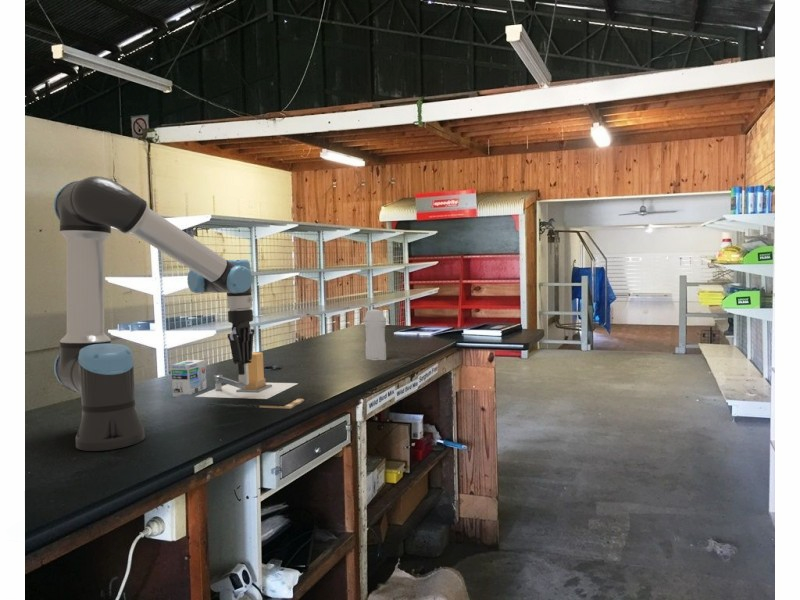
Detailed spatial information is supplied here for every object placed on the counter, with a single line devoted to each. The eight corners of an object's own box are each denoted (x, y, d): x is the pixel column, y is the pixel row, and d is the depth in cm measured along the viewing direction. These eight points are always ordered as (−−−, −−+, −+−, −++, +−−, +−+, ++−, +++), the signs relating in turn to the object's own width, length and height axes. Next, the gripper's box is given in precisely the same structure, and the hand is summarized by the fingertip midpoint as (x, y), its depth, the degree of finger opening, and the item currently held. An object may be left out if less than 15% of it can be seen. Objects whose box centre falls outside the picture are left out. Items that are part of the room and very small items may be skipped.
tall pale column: (389, 359, 262) (387, 309, 260) (385, 360, 258) (383, 309, 256) (367, 358, 266) (365, 308, 264) (363, 360, 262) (361, 309, 261)
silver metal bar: (239, 390, 183) (239, 384, 183) (212, 380, 200) (211, 375, 200) (249, 388, 185) (248, 383, 185) (220, 379, 202) (220, 374, 202)
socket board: (267, 402, 185) (266, 388, 185) (195, 399, 191) (194, 387, 191) (298, 386, 208) (298, 374, 208) (233, 384, 214) (233, 373, 214)
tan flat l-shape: (290, 408, 175) (290, 406, 175) (259, 407, 178) (259, 405, 178) (304, 400, 185) (304, 398, 185) (274, 399, 188) (274, 397, 188)
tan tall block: (256, 391, 196) (254, 355, 195) (242, 391, 197) (241, 354, 197) (265, 387, 203) (264, 351, 202) (253, 386, 204) (251, 351, 203)
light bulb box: (190, 397, 195) (189, 364, 194) (171, 397, 196) (170, 364, 195) (207, 390, 205) (206, 359, 204) (189, 390, 206) (188, 359, 206)
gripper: (240, 311, 180) (244, 389, 181) (260, 307, 192) (264, 380, 194) (218, 311, 181) (222, 388, 183) (239, 307, 194) (243, 379, 195)
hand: (244, 384), depth 188 cm, fingers closed
